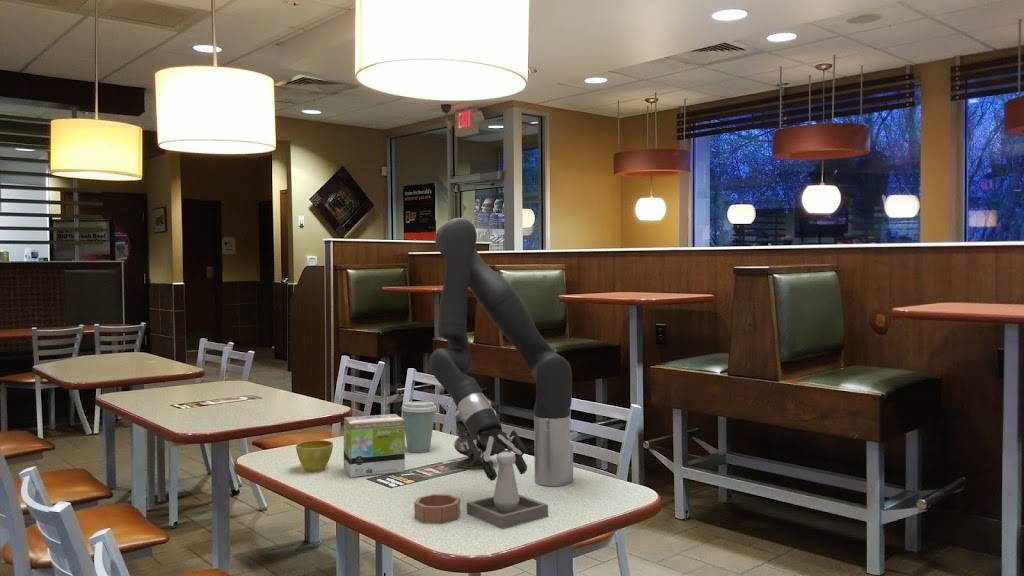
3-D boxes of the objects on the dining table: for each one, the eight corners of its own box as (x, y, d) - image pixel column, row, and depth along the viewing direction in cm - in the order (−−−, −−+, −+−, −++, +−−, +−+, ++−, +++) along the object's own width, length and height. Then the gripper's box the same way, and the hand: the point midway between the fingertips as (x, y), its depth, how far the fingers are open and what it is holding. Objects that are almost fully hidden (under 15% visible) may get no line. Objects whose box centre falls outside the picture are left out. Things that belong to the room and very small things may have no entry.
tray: (511, 502, 186) (511, 491, 186) (548, 515, 175) (547, 504, 175) (467, 513, 178) (466, 502, 177) (502, 528, 167) (502, 516, 167)
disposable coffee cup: (402, 447, 243) (401, 399, 243) (437, 445, 245) (436, 398, 244) (401, 455, 233) (400, 405, 232) (437, 454, 234) (437, 404, 234)
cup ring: (443, 506, 183) (443, 491, 183) (467, 516, 175) (467, 501, 175) (408, 515, 177) (407, 499, 177) (431, 526, 169) (430, 510, 169)
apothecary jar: (492, 471, 214) (491, 405, 213) (449, 469, 216) (448, 404, 216) (500, 460, 226) (500, 398, 225) (460, 458, 228) (459, 397, 227)
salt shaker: (516, 514, 174) (516, 456, 174) (491, 513, 175) (490, 455, 175) (521, 506, 180) (520, 450, 179) (496, 505, 181) (496, 449, 180)
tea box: (350, 478, 208) (350, 423, 208) (343, 469, 217) (342, 416, 217) (405, 472, 214) (405, 418, 214) (396, 463, 223) (395, 412, 223)
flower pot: (337, 471, 215) (336, 445, 215) (300, 476, 211) (299, 449, 211) (328, 463, 224) (328, 438, 224) (292, 467, 220) (292, 442, 220)
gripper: (460, 411, 177) (491, 471, 169) (509, 403, 186) (541, 460, 178) (447, 430, 182) (477, 490, 173) (496, 422, 191) (526, 478, 182)
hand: (509, 475), depth 175 cm, fingers open, 8 cm apart
